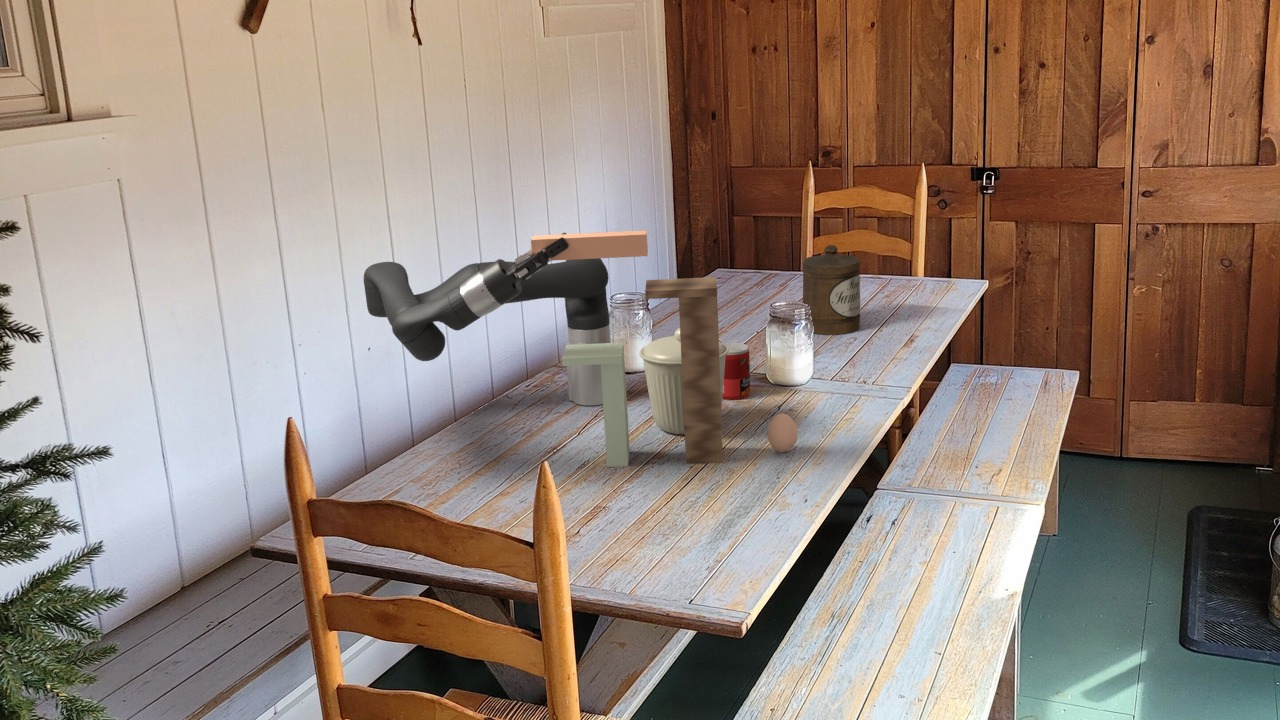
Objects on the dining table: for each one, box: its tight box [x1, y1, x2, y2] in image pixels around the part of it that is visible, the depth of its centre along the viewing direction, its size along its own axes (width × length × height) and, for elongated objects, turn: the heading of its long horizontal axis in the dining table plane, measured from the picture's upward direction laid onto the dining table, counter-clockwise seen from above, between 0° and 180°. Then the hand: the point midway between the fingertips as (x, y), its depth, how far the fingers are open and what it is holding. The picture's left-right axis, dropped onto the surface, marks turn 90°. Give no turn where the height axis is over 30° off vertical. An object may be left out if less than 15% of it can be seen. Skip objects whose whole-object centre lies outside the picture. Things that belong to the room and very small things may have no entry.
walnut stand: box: [644, 276, 724, 465], centre depth 227 cm, size 13×9×34 cm
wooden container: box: [802, 244, 861, 336], centre depth 313 cm, size 15×15×22 cm
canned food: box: [722, 342, 751, 401], centre depth 265 cm, size 8×8×11 cm
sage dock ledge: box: [561, 342, 631, 468], centre depth 230 cm, size 11×9×22 cm
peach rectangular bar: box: [530, 230, 649, 262], centre depth 221 cm, size 21×4×4 cm, turn 88°
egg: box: [767, 413, 799, 453], centre depth 231 cm, size 6×6×8 cm
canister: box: [638, 327, 729, 435], centre depth 245 cm, size 18×18×21 cm
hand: (566, 239), depth 220 cm, fingers closed on peach rectangular bar, 4 cm apart
